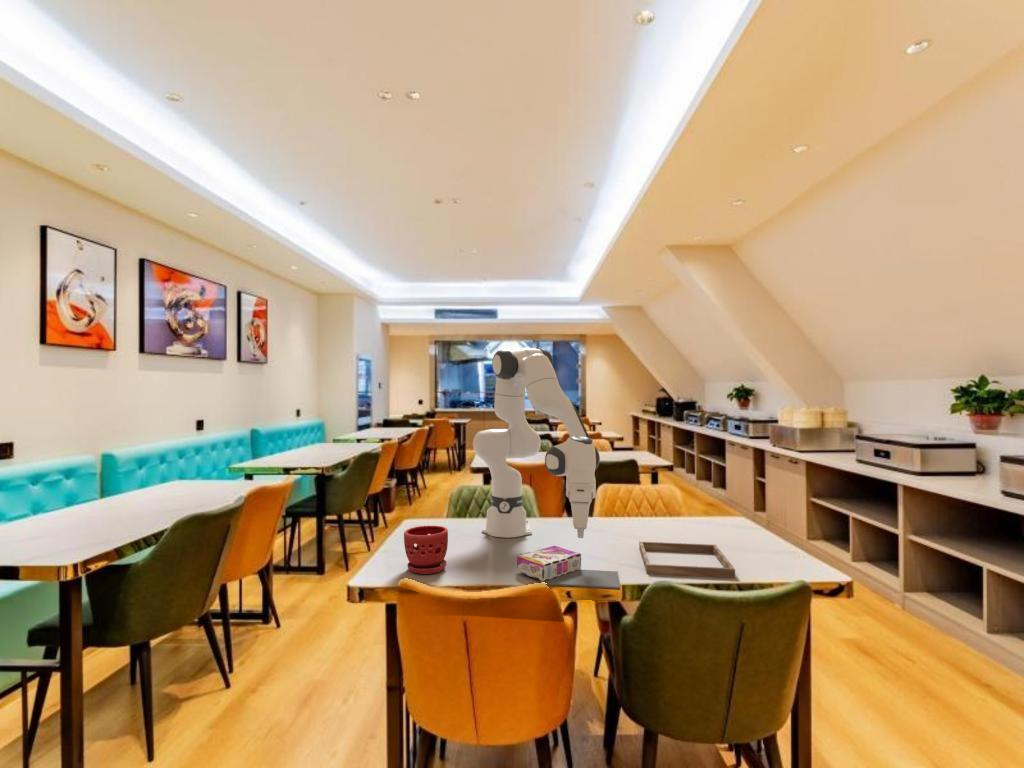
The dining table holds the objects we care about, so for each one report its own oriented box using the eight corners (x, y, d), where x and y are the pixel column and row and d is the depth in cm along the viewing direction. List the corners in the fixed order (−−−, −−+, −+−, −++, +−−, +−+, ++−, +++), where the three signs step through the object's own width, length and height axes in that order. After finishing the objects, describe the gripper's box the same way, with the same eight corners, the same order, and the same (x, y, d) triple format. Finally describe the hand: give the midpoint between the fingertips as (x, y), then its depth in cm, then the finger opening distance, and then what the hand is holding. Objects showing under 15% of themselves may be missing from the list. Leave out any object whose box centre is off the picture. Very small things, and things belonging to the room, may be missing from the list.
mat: (543, 569, 168) (543, 567, 168) (617, 573, 165) (617, 571, 165) (539, 584, 155) (539, 582, 155) (620, 589, 152) (620, 587, 152)
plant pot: (449, 562, 174) (449, 524, 174) (445, 576, 161) (445, 535, 161) (407, 562, 174) (407, 524, 174) (400, 577, 161) (400, 535, 161)
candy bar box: (581, 552, 167) (543, 565, 155) (581, 569, 167) (543, 582, 155) (554, 544, 175) (516, 555, 164) (554, 560, 175) (516, 572, 164)
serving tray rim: (639, 548, 189) (639, 541, 189) (715, 552, 186) (715, 544, 186) (646, 573, 165) (646, 565, 165) (735, 578, 161) (735, 569, 161)
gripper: (571, 484, 178) (571, 527, 178) (569, 497, 157) (568, 545, 157) (591, 484, 177) (591, 528, 177) (591, 497, 156) (591, 546, 156)
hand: (580, 536), depth 167 cm, fingers closed
